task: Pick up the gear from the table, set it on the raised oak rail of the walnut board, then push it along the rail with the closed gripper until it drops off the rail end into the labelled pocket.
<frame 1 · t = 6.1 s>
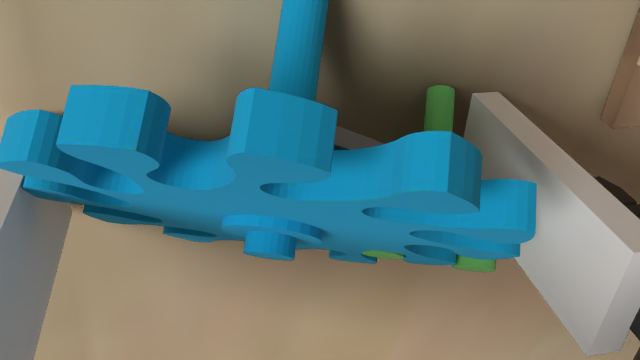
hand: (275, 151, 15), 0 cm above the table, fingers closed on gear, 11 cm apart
gear: (273, 121, 15), on the table, touching gripper
when the fingers open (4 cm above the table, at t = 11.9 s): gear drops 1 cm, resting on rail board.
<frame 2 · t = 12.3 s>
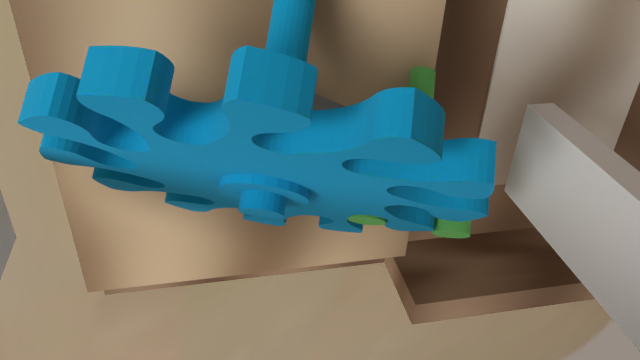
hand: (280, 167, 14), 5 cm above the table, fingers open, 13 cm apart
gear: (267, 99, 16), point 2 cm above the table, touching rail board
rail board: (416, 74, 19), on the table
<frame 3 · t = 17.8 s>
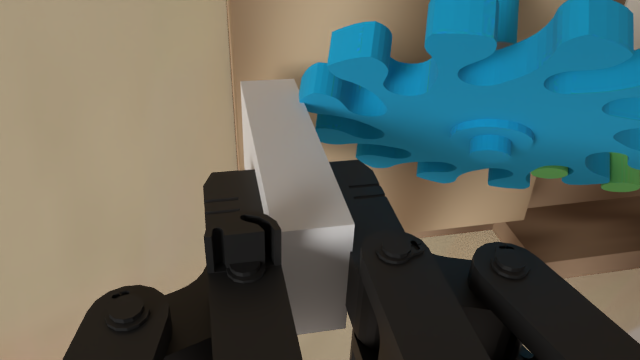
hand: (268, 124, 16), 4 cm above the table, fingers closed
gear: (448, 66, 18), point 2 cm above the table, touching gripper
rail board: (539, 51, 21), on the table
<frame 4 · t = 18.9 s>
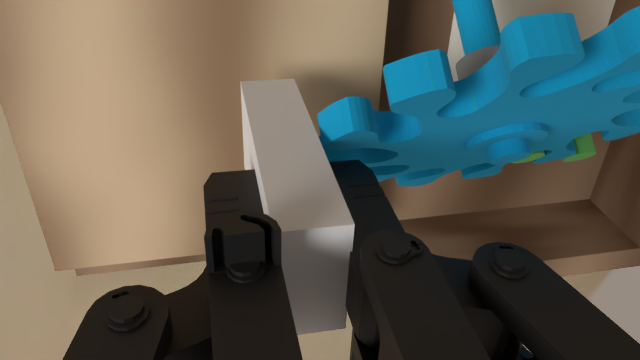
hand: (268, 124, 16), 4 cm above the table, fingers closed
gear: (411, 71, 18), point 2 cm above the table, touching gripper
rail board: (373, 58, 20), on the table
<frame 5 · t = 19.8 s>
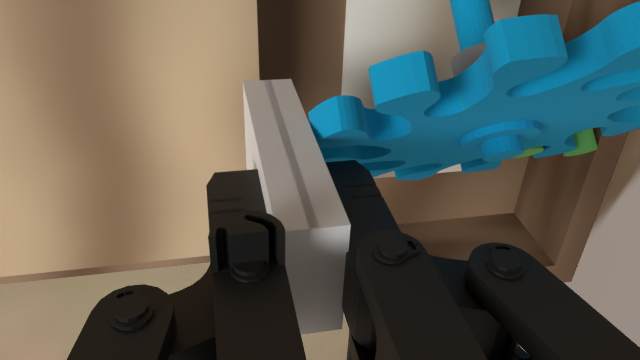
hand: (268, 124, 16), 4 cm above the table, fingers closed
gear: (410, 65, 18), point 2 cm above the table, touching gripper, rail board
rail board: (267, 66, 19), on the table
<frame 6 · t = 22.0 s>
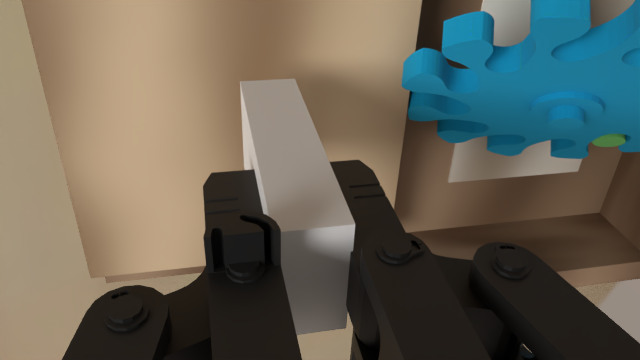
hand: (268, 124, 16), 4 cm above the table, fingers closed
gear: (514, 52, 20), resting on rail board
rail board: (398, 76, 21), on the table
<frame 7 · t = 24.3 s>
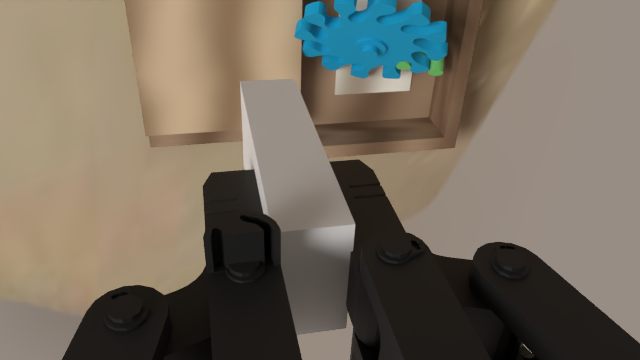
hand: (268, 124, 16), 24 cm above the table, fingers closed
gear: (362, 22, 40), resting on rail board
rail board: (302, 35, 40), on the table
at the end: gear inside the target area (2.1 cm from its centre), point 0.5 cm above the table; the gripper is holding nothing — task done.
